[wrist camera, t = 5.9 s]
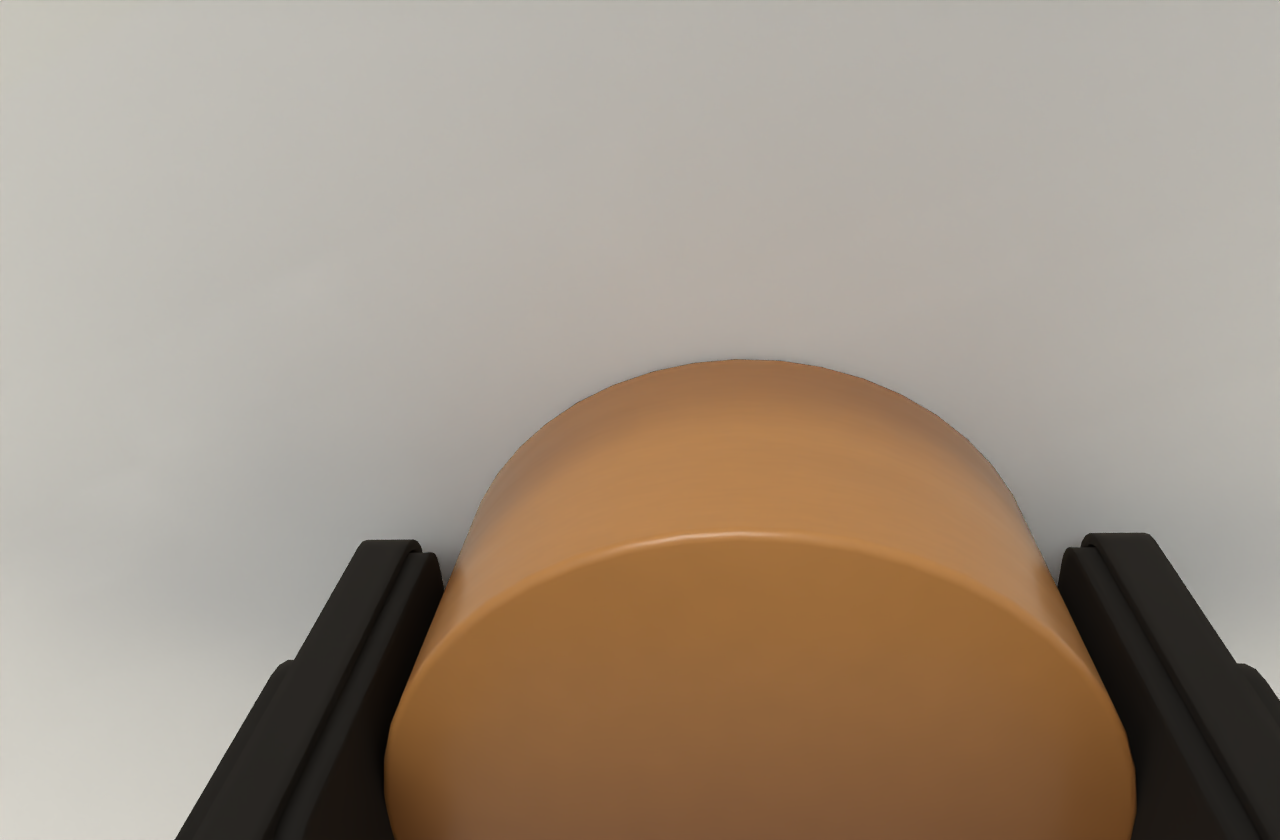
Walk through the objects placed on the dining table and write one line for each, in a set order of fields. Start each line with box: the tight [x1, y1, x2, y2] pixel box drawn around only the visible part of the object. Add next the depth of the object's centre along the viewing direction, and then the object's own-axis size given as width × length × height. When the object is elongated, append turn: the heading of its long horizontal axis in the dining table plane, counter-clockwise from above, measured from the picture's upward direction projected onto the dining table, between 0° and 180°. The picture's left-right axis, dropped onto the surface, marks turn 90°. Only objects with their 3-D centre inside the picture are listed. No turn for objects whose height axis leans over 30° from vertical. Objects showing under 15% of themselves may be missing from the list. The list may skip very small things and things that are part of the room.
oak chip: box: [384, 359, 1137, 840], centre depth 10 cm, size 6×6×3 cm
